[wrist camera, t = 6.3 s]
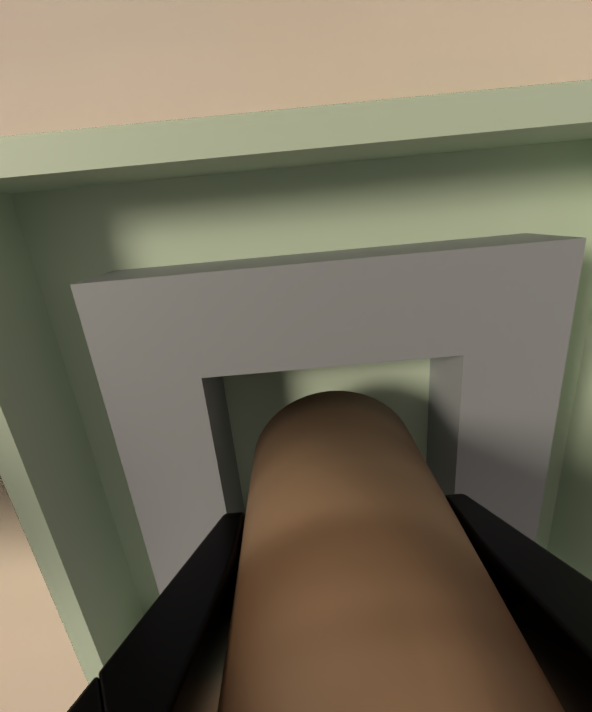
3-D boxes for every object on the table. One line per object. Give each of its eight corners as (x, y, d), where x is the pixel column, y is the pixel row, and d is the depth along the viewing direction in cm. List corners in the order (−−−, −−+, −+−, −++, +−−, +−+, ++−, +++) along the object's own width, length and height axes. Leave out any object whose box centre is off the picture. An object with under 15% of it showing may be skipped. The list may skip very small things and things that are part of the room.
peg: (412, 519, 10) (749, 1345, 3) (263, 532, 10) (197, 1379, 3) (415, 383, 9) (1096, 1285, 1) (243, 398, 9) (11, 1346, 1)
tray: (544, 583, 14) (608, 675, 11) (138, 614, 14) (101, 713, 11) (632, 108, 9) (790, 60, 6) (-7, 170, 9) (-138, 150, 6)
